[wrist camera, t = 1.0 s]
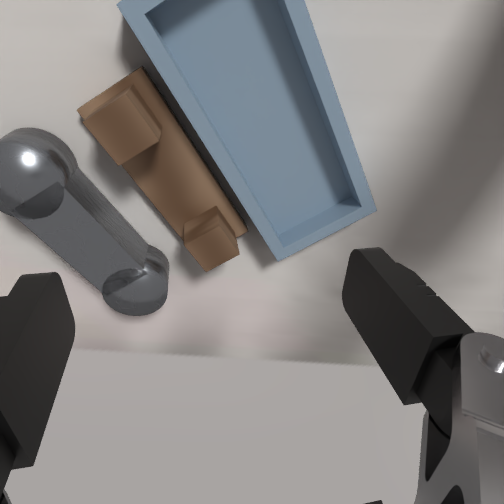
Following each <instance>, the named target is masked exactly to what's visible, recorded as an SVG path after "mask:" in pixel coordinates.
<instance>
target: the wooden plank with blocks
mask: <svg viewBox="0 0 504 504" xmlns="http://www.w3.org/2000/svg"><path fill="white" fill-rule="evenodd" d="M77 111H78V113H79V114H80V115H81V116H82V118H83V119H84V121H83V123H84V125H85V126H86V127H87V128H88V130H89V131H90V132H91V133H92V134H93V136H94V137H95V138H96V139H97V140H98V142H99V143H100V144H101V145H102V147H103V148H104V149H105V150H106V151H107V153H108V154H109V155H110V156H111V157H112V159H113V160H114V161H115V162H116V163H117V165H118V166H119V165H122V166H123V168H124V169H125V170H126V171H127V173H128V174H129V175H130V176H131V177H132V179H133V180H134V181H135V182H136V184H137V185H138V186H139V187H140V188H141V190H142V191H143V192H144V193H145V195H146V196H147V197H148V198H149V199H150V201H151V202H152V203H153V204H154V206H155V207H156V208H157V209H158V210H159V212H160V213H161V214H162V215H163V217H164V218H165V219H166V220H167V221H168V223H169V224H170V225H171V226H172V228H173V229H174V230H175V231H176V232H177V234H178V235H179V236H180V237H181V239H182V240H183V241H184V246H185V247H186V248H187V250H188V251H189V252H190V253H191V254H192V256H193V257H194V258H195V259H196V260H197V262H198V263H199V264H200V265H201V266H202V268H203V269H204V270H205V271H206V272H207V271H209V270H211V269H213V268H215V267H217V266H219V265H221V264H222V263H224V262H226V261H228V260H230V259H232V258H234V257H236V256H238V255H239V249H238V244H237V240H236V238H237V237H239V236H240V235H242V234H244V233H246V232H248V229H247V226H246V224H245V223H244V221H243V220H242V218H241V217H240V215H239V214H238V212H237V211H236V209H235V207H234V206H233V204H232V203H231V201H230V200H229V198H228V197H227V195H226V194H225V192H224V191H223V189H222V187H221V186H220V184H219V183H218V181H217V180H216V178H215V177H214V175H213V174H212V172H211V170H210V169H209V167H208V166H207V164H206V163H205V161H204V160H203V158H202V157H201V155H200V154H199V152H198V150H197V149H196V147H195V146H194V144H193V143H192V141H191V140H190V138H189V137H188V135H187V134H186V132H185V130H184V129H183V127H182V126H181V124H180V123H179V121H178V120H177V118H176V117H175V115H174V114H173V112H172V110H171V109H170V107H169V106H168V104H167V103H166V101H165V100H164V98H163V97H162V95H161V93H160V92H159V90H158V89H157V87H156V86H155V84H154V83H153V81H152V80H151V78H150V77H149V75H148V73H147V72H146V70H145V69H144V67H143V66H141V67H140V68H138V69H137V70H135V71H134V72H132V73H131V74H129V75H128V76H126V77H125V78H123V79H122V80H120V81H119V82H117V83H116V84H114V85H113V86H111V87H110V88H108V89H107V90H105V91H104V92H102V93H101V94H99V95H98V96H96V97H95V98H93V99H92V100H90V101H89V102H87V103H86V104H84V105H83V106H81V107H80V108H79V109H77Z"/></svg>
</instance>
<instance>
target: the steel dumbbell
mask: <svg viewBox="0 0 504 504" xmlns="http://www.w3.org/2000/svg"><path fill="white" fill-rule="evenodd" d="M0 211H2V212H3V213H5V214H8V215H10V216H13V217H16V218H17V219H18V220H20V221H21V222H22V223H23V224H24V225H25V226H26V227H28V228H29V229H30V230H31V231H32V232H33V233H34V234H36V235H37V236H38V237H39V238H40V239H41V240H42V241H44V242H45V243H46V244H47V245H48V246H49V247H50V248H52V249H53V250H54V251H55V252H56V253H57V254H58V255H60V256H61V257H62V258H63V259H64V260H65V261H66V262H68V263H69V264H70V265H71V266H72V267H73V268H74V269H76V270H77V271H78V272H79V273H80V274H81V275H82V276H84V277H85V278H86V279H87V280H88V281H89V282H90V283H92V284H93V285H94V286H95V287H96V288H97V289H98V290H100V291H101V292H102V295H103V298H104V300H105V302H106V303H107V304H108V305H109V306H110V307H111V308H112V309H114V310H116V311H118V312H120V313H123V314H126V315H132V316H141V315H147V314H150V313H153V312H155V311H156V310H158V309H159V308H161V307H162V306H163V304H164V303H165V301H166V299H167V292H168V279H169V262H168V260H167V258H166V256H165V255H164V254H163V253H162V252H161V251H160V250H159V249H157V248H155V247H153V246H150V245H148V244H147V243H146V242H145V241H144V240H143V238H142V237H141V236H140V235H139V234H138V233H137V232H136V231H135V230H134V229H133V227H132V226H131V225H130V224H129V223H128V222H127V221H126V220H125V219H124V218H123V216H122V215H121V214H120V213H119V212H118V211H117V210H116V209H115V208H114V207H113V205H112V204H111V203H110V202H109V201H108V200H107V199H106V198H105V197H104V195H103V194H102V193H101V192H100V191H99V190H98V189H97V188H96V187H95V186H94V184H93V183H92V182H91V181H90V180H89V179H88V178H87V177H86V176H85V175H84V173H83V172H82V171H81V170H80V169H79V168H78V165H77V161H76V158H75V156H74V154H73V153H72V151H71V150H70V148H69V147H68V146H67V145H66V144H65V143H64V142H63V141H62V140H61V139H59V138H58V137H56V136H55V135H53V134H51V133H49V132H47V131H44V130H41V129H36V128H20V129H16V130H14V131H12V132H10V133H8V134H7V135H5V136H4V137H2V138H1V139H0Z"/></svg>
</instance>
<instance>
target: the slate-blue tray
mask: <svg viewBox="0 0 504 504" xmlns="http://www.w3.org/2000/svg"><path fill="white" fill-rule="evenodd" d="M116 5H117V6H118V8H119V10H120V11H121V13H122V14H123V16H124V18H125V19H126V21H127V22H128V24H129V26H130V27H131V29H132V30H133V32H134V34H135V35H136V37H137V38H138V40H139V41H140V43H141V45H142V46H143V48H144V49H145V51H146V53H147V54H148V56H149V57H150V59H151V61H152V62H153V64H154V65H155V67H156V68H157V70H158V72H159V73H160V75H161V76H162V78H163V80H164V81H165V83H166V84H167V86H168V88H169V89H170V91H171V92H172V94H173V95H174V97H175V99H176V100H177V102H178V103H179V105H180V107H181V108H182V110H183V111H184V113H185V115H186V116H187V118H188V119H189V121H190V123H191V124H192V126H193V127H194V129H195V130H196V132H197V134H198V135H199V137H200V138H201V140H202V142H203V143H204V145H205V146H206V148H207V150H208V151H209V153H210V154H211V156H212V157H213V159H214V161H215V162H216V164H217V165H218V167H219V169H220V170H221V172H222V173H223V175H224V177H225V178H226V180H227V181H228V183H229V185H230V186H231V188H232V189H233V191H234V192H235V194H236V196H237V197H238V199H239V200H240V202H241V204H242V205H243V207H244V208H245V210H246V212H247V213H248V215H249V216H250V218H251V219H252V221H253V223H254V224H255V226H256V227H257V229H258V231H259V232H260V234H261V235H262V237H263V239H264V240H265V242H266V243H267V245H268V246H269V248H270V250H271V251H272V253H273V254H274V256H275V258H276V259H277V261H280V260H282V259H284V258H286V257H288V256H290V255H292V254H294V253H296V252H297V251H299V250H301V249H303V248H305V247H307V246H309V245H311V244H313V243H315V242H317V241H319V240H321V239H323V238H325V237H327V236H329V235H330V234H332V233H334V232H336V231H338V230H340V229H342V228H344V227H346V226H348V225H350V224H352V223H354V222H356V221H358V220H360V219H361V218H363V217H365V216H367V215H369V214H371V213H373V212H375V211H377V209H376V206H375V204H374V201H373V198H372V195H371V192H370V189H369V186H368V183H367V180H366V177H365V175H364V172H363V169H362V166H361V163H360V160H359V157H358V154H357V151H356V149H355V146H354V143H353V140H352V137H351V134H350V131H349V128H348V125H347V122H346V120H345V117H344V114H343V111H342V108H341V105H340V102H339V99H338V96H337V94H336V91H335V88H334V85H333V82H332V79H331V76H330V73H329V70H328V67H327V65H326V62H325V59H324V56H323V53H322V50H321V47H320V44H319V41H318V39H317V36H316V33H315V30H314V27H313V24H312V21H311V18H310V15H309V12H308V10H307V7H306V4H305V1H304V0H122V1H120V2H119V3H118V4H116Z"/></svg>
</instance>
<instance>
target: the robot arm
mask: <svg viewBox="0 0 504 504" xmlns="http://www.w3.org/2000/svg"><path fill="white" fill-rule="evenodd" d="M342 300H343V305H344V308H345V311H346V312H347V314H348V316H349V317H350V319H351V321H352V322H353V324H354V325H355V327H356V329H357V330H358V332H359V333H360V335H361V337H362V338H363V340H364V342H365V343H366V345H367V346H368V348H369V350H370V351H371V353H372V354H373V356H374V358H375V359H376V361H377V363H378V364H379V366H380V367H381V369H382V371H383V372H384V374H385V376H386V377H387V379H388V380H389V382H390V384H391V385H392V387H393V388H394V390H395V392H396V393H397V395H398V396H399V398H400V400H401V401H402V403H403V404H404V405H409V404H415V403H421V402H422V403H423V405H424V406H425V408H426V409H427V410H426V412H425V415H424V418H423V428H422V441H421V453H420V466H419V480H418V489H417V495H416V499H415V502H414V504H504V339H503V338H501V337H498V336H495V335H492V334H488V333H481V332H474V331H473V330H472V329H471V328H470V327H469V326H468V325H467V324H466V323H465V322H464V321H463V320H462V319H461V318H460V317H459V316H458V315H457V314H456V313H455V312H454V311H453V310H452V309H451V308H450V307H449V306H448V305H447V304H446V303H445V302H444V301H443V300H442V299H441V298H440V297H439V296H436V293H435V292H434V291H433V290H432V289H431V288H430V287H429V286H426V283H425V282H424V281H423V280H422V279H421V278H420V277H419V276H418V275H417V274H416V273H415V272H413V271H412V270H410V269H408V268H407V267H405V266H403V265H401V264H400V263H395V262H394V261H393V260H392V259H391V258H390V256H389V255H388V254H387V253H386V252H385V251H384V250H383V249H381V248H379V247H377V248H365V249H354V250H353V251H352V252H351V254H350V258H349V262H348V267H347V272H346V276H345V281H344V286H343V290H342ZM74 337H75V321H74V316H73V313H72V310H71V307H70V304H69V301H68V298H67V295H66V292H65V289H64V286H63V283H62V280H61V277H60V275H59V274H58V273H56V272H50V273H38V274H25V275H22V276H20V277H19V279H18V280H17V282H16V284H15V285H14V287H13V288H12V290H11V291H10V293H9V295H8V296H3V297H0V504H12V503H11V501H10V499H9V497H8V495H7V493H6V491H5V490H4V487H5V485H6V482H7V479H8V477H9V474H10V471H11V470H12V469H19V468H25V467H31V466H33V465H34V462H35V459H36V456H37V452H38V450H39V447H40V444H41V440H42V437H43V434H44V431H45V428H46V425H47V422H48V419H49V416H50V413H51V410H52V407H53V403H54V400H55V397H56V394H57V391H58V388H59V385H60V382H61V378H62V376H63V373H64V369H65V366H66V363H67V360H68V357H69V354H70V351H71V348H72V345H73V342H74ZM366 504H383V503H382V501H381V500H379V501H374V502H370V503H366Z"/></svg>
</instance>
